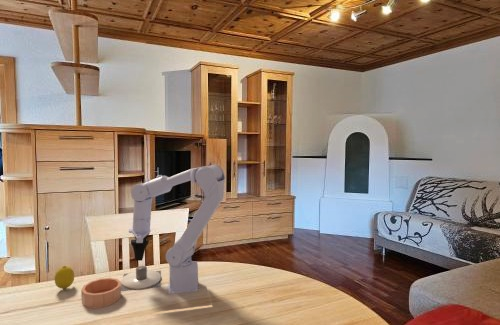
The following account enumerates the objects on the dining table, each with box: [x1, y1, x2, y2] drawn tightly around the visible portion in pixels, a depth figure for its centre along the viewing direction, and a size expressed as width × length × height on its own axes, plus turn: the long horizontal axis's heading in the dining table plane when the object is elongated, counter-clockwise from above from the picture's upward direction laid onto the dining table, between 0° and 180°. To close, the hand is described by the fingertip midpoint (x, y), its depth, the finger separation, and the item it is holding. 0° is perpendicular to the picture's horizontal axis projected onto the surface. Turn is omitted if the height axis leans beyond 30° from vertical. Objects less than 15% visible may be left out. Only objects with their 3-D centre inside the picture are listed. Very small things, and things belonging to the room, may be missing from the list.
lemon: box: [54, 265, 75, 290], centre depth 102 cm, size 6×6×8 cm
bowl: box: [80, 277, 122, 309], centre depth 96 cm, size 11×11×4 cm
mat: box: [121, 270, 162, 292], centre depth 109 cm, size 13×13×1 cm
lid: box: [120, 265, 162, 290], centre depth 109 cm, size 13×13×4 cm
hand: (139, 255), depth 108 cm, fingers open, 7 cm apart
